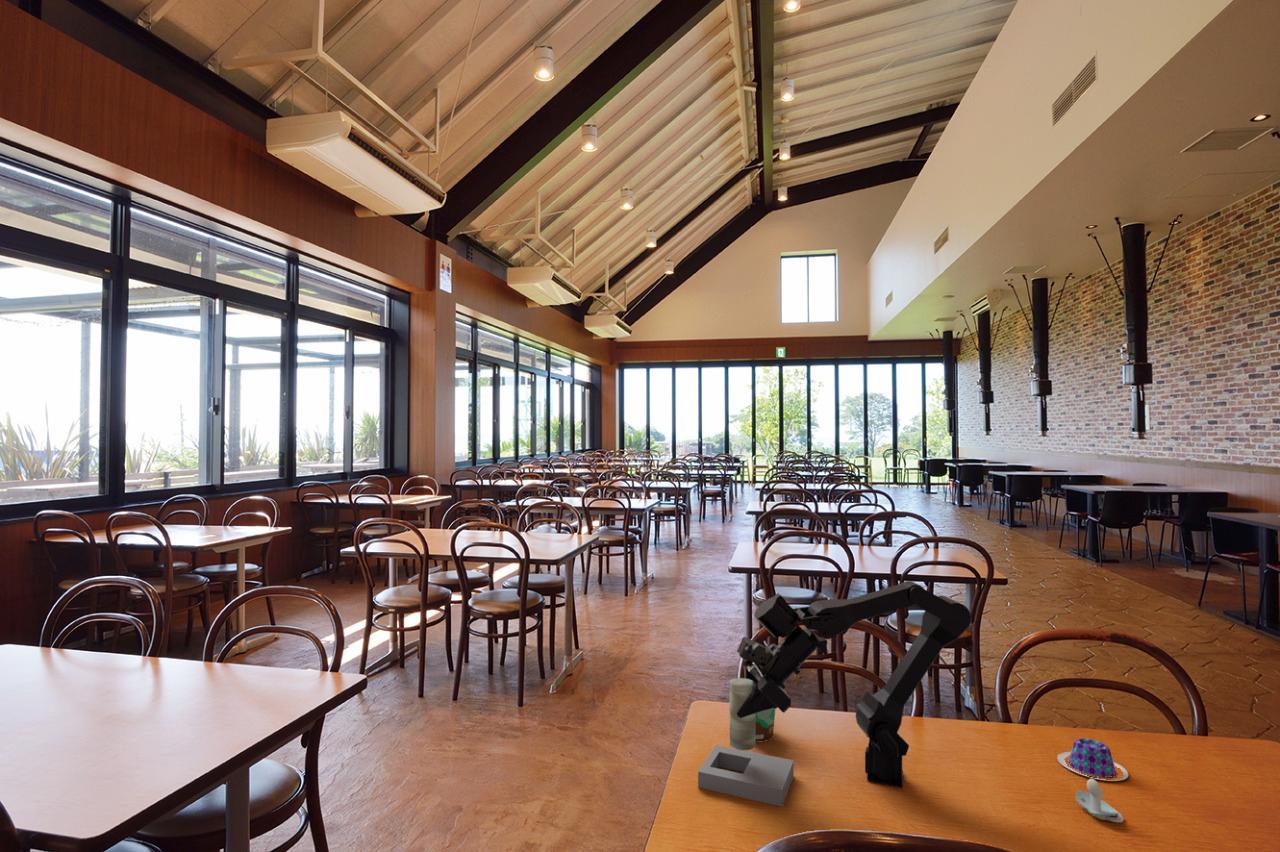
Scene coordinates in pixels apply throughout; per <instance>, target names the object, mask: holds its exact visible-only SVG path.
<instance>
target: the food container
mask: <svg viewBox="0 0 1280 852" xmlns="http://www.w3.org/2000/svg"><path fill="white" fill-rule="evenodd" d="M775 715H776V709H775V708H772V709H768V710H764V711H761V712H758V713H755V738H756V743H760V742H759V741H764V742H766V741H765V740H768V741H770V740H771V739H770V738H772V739H773V737H772V736H774V729H775ZM769 739H770V740H769ZM757 741H758V742H757Z"/></svg>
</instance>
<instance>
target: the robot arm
mask: <svg viewBox="0 0 1280 852" xmlns="http://www.w3.org/2000/svg"><path fill="white" fill-rule="evenodd" d="M911 606H912V607H913V606H917V607H918V608H920V609H922V610H924V612H923V615H922V620H921V628H920V632H919V634H918V635H917V637H916V638H915V639H914V641H913V643H912V644H911V645H910V647H909V649H908V650H907V652H906V653H905V654H904V656H903V658H902V659H901V660H900V662H899V663H898V665H897V666H896V667H895V670H894V671H893V672H892V674H891V675H890V677H889V679H887V682H885V684H884V686H883V688H881V690H879V691H877V692H875V693H872V692H871V691H870V690H867V691H866V692H865V694H864V695H863V698H862V700H861V701H860V702H858V704H856V705H855V706H856V708H857V709H856V711H855V719H856V724H857V726H858V727H859V728H860V729H861V731H862V732H863V733H864V734H865V736H866V737H867V738H868V746H866V748H865V751H864V756H865V757H864V773H865V774H866V775H867V776H866V780H867V781H868V782H871V783H872V782H873V783H877V784H882V785H887V786H891V787H897V788H903V786H904V784H903V783H904V770H903V757H905V756H907V753H908V751H909V748H910V745H909V743H908V742H906V740H904V738H903V737H902V736H901V735H900V734H899V733H898V732H899V729H900V727H901V725H902V721H903V713H904V707H905V705H906V703H907V702H908V701H909V699H910V698H911V696H912V694H913V693H914V692H915V690H916V689H917V687H918V686H919V684H920V683H921V682H922V680H923V678H924V677H925V675H926V673H927V672H928V671H929V669H930V668H931V666H932V665H933V663H934V662H935V660H936V659H937V657H938V655H940V653H941V651H942V649H943V648H944V647H945V646H947V645H949V644H951V643H952V642H955V641H956V640H958V639H959V638H960V637H961V635H963V634H964V633H965V632H966V631H967V630H968V628H969V627H970V626H971V624H972V618H973V617H972V616H971V611H970V610H969V608H968V607H967V606H966V605H965V604H962V603H961V602H958V601H957V600H954V599H952V598H950V597H948V596H945V595H938V596H937V595H936V594H934V593H932V592H930V591H928V590H927V589H925V588H924V587H923V586H922V585H920V584H919V583H916V582H913V581H911V580H906V581H903V582H901V583H899V584H895V585H893V586H890V587H887V588H882V589H879V590H875V591H873V592H869V593H866V594H863V595H859V596H855V597H851V598H846V599H845V598H844V599H838V598H837V599H835V598H833V599H831V598H830V599H823V600H822V599H820V600H816V601H813V602H811V603H810V604H809V605H808V606H801V607H795V608H793V607H792V606H791V605H790V604H789V603H788V602H787V601H786V599H785V598H784V597H783V596H782V595H781V594H780V593H776V594H774V596H771V597H770V598H767V599H766V600H765V601H762V602H761V603H760V604H759V605H758V607H757V608H756V610H755V612H754V616H753V617H754V618H755V620H756V621H758V622H759V623H760V624H761V626H763V628H765V630H767V631H768V632H769V634H771V636H773V638H777V639H778V638H781V639H782V640H781V641H780V642H779V643H778V644H777V645H776V644H775V643H771V644H769V646H765V645H763V644H761V643H759V642H757V641H755V640H752V639H750V638H748V637H746V636H743V637H742V638H741V641H740V642H739V645H738V647H737V650H736V652H737V653H738V654H739V657H740V658H741V659H742V660H743V662H744V663H745V664H748V665H745V664H743V672H744V673H743V674H744V677H743V678H745V679H750V680H752V693H751V694H750V695H749V697H748V698H747V699H746V701H745V702H744V703H743V705H742V706H741V707H740V709H739V710H738V712H737V716H738V717H739V718H743V717H746V716H749V715H752V714H755V713H758V712H761V711H764V710H768V709H772V708H775V710H776V709H779V710H780V711H781V713H783V714H784V713H786V711H788V710H789V709H790V708H791V706H792V701H791V700H792V699H791V697H790V696H789V694H788V693H787V690H785V689H786V687H787V686H786V685H785V682H787V681H788V679H789V678H790V677H792V675H793V674H795V675H796V676H798V675H799V674H801V670H800V669H799V668H800V667H801V666H802V664H804V663H805V662H806V661H807V659H808V658H810V657H811V655H812V654H814V653H815V651H816V650H817V649H818V650H819V651H820V652H821V653H822V654H823V655H824V656H827V655H828V654H829V653H828V640H827V638H833V637H836V636H838V635H840V634H842V633H844V632H846V631H848V630H849V629H851V628H852V626H854V625H855V624H856V623H858V622H861V621H864V620H867V619H871V618H873V617H877V616H881V615H883V614H887V613H891V612H894V611H898V610H901V609H904V608H905V609H906V608H908V607H911ZM799 623H801V624H802V625H803V626H804V627H805V628H803V627H801V626H800V625H799ZM814 631H815V632H816V633H818V634H819V635H821V636H823V637H819V636H818V635H817V634H816V633H815V632H814Z"/></svg>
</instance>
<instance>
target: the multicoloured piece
mask: <svg viewBox="0 0 1280 852" xmlns="http://www.w3.org/2000/svg"><path fill="white" fill-rule="evenodd" d="M1069 755H1070V758H1069V760H1068V763H1069V762H1070V763H1069V766H1070V767H1071V766H1072V767H1073V769H1074V768H1075V769H1074V770H1073V769H1072V768H1070V767H1068V766H1067V764H1066V762H1065V760H1064V759H1065V758H1066V757H1068V756H1069ZM1057 761H1058V762H1059V763H1060V764H1061V765H1062V766H1063V767H1065V768H1067V770H1069V771H1072V772H1074V773H1076V774H1078V775H1082V776H1083V777H1084V776H1085V777H1087V778H1089V779H1094V780H1100V781H1108V782H1118V781H1124V780H1126V779H1127V778H1129V771H1127V769H1125V768H1124V766H1122V765H1120V764H1118V763H1117V762H1115V761H1114V759H1113V755H1112V753H1111V749H1110V747H1108V746H1107V745H1106V744H1104V743H1103V742H1102V741H1098V740H1095V739H1092V738H1084V737H1080V738H1077V739H1075V740H1074V742H1073V745H1072V749H1071V751H1066V752H1061V753H1059V754H1058V755H1057ZM1115 766H1116V767H1117V768H1120V769H1121V771H1122V772H1123V775H1124V776H1122V778H1120V779H1114V780H1106V779H1099V777H1105V776H1112V777H1113V776H1115V777H1116V774H1117V772H1116V769H1115ZM1077 769H1079V770H1077ZM1075 770H1076V771H1075ZM1077 771H1078V772H1077ZM1080 771H1081V772H1083V773H1086V775H1084V774H1081V772H1080ZM1079 772H1080V773H1079ZM1114 773H1116V774H1114ZM1087 774H1093V775H1095V776H1099V777H1097V778H1093V777H1095V776H1093V775H1092V776H1093V777H1089V776H1090V775H1089V776H1087ZM1105 778H1106V777H1105ZM1113 778H1114V777H1113Z"/></svg>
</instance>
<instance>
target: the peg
mask: <svg viewBox="0 0 1280 852" xmlns="http://www.w3.org/2000/svg"><path fill="white" fill-rule="evenodd" d="M751 693H752V680H750V679H745V678H744V677H739V678H733V679H730V680H729V745H730V746H731V748H734V749H739V750H744V751H749V750H752V749H754V748H755V747H756V744H757V742H756V738H755V714H752V715H749V716H746V717H743V718H739V717H738V716H737V712H738V710H739V709H740V707H741V706H742V705H743V703H744V702H745V701H746V699H747V698H748V697H749V695H750V694H751Z"/></svg>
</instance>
